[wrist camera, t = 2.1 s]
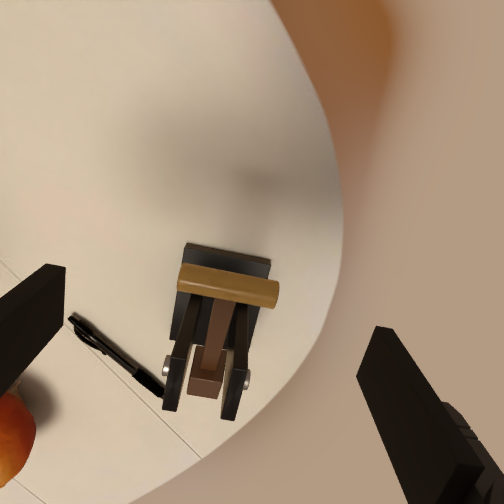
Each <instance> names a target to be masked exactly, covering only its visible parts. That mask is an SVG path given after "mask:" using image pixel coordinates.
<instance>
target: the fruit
mask: <svg viewBox="0 0 504 504" xmlns="http://www.w3.org/2000/svg"><path fill="white" fill-rule="evenodd" d="M20 383H21V382H20V380H19V381H18V382H17V383H16V384H15V386H14V387H13V388H12V389H10V390H7V391H6V392H5V393H4V395H3V396H2V397H1V398H0V488H2V487H4V486H5V484H6V483H7V482H8V481H10V480H11V479H12V478H13V477H15V476H16V475H17V474H18V473H19V472H20V471H21V469H22V468H23V467H24V465H25V463H26V461H27V459H28V457H29V455H30V452H31V449H32V447H33V443H34V440H35V435H36V425H35V422H34V417H33V415H32V414H31V413H30V412H29V410H28V409H27V408H26V406H25V404H24V402H23V400H22V399H21V397H20V395H19V393H18V390H17V388H18V386H19V384H20Z"/></svg>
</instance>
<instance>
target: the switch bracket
mask: <svg viewBox="0 0 504 504" xmlns="http://www.w3.org/2000/svg"><path fill="white" fill-rule="evenodd" d="M183 263H188V264H194V265H199V266H204V267H209V268H214V269H219V270H224V271H229V272H234V273H239V274H244V275H249V276H254V277H259V278H264V279H268V275H269V271H270V267H271V262H270V260H267V259H262V258H257V257H252V256H247V255H242V254H237V253H232V252H228V251H223V250H218V249H213V248H208V247H203V246H198V245H193V244H188V243H186V245H185V247H184V253H183V259H182V264H183ZM214 299H215V298H213V297H208V296H203V295H198V294H192V293H187V292H182V291H178V290H177V295H176V301H175V307H174V313H173V319H172V325H171V331H170V338H169V339H170V340H175V341H176V342H175V345H174V348H173V351H172V354H171V355H166V358H165V361H164V365H163V370H162V376H167V381H166V387H165V393H164V399H163V405H162V410H167V411H173V412H176V411H177V407H178V403H179V399H180V395H181V391H182V387H183V383H184V379H185V375H186V370H187V366H188V362H189V358H190V354H191V350H192V346H193V344H197V345H202V346H205V341H206V336H207V332H208V327H209V322H210V318H211V313H212V308H213V304H214ZM259 309H260V306H255V305H250V304H244V303H239V302H236V304H235V307H234V311H233V314H232V318H231V321H230V325H229V328H228V332H227V335H226V338H225V342H224V345H223V349H225V350H227V356H226V364H225V375H224V386H223V396H222V407H221V417H220V418H221V419H223V420H229V421H234V420H235V417H236V414H237V410H238V406H239V402H240V398H241V395H242V391H243V390H247V389H248V386H249V382H250V369H248V352H249V348H250V344H251V340H252V336H253V332H254V329H255V325H256V321H257V317H258V313H259Z"/></svg>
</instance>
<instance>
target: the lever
mask: <svg viewBox="0 0 504 504" xmlns="http://www.w3.org/2000/svg"><path fill="white" fill-rule="evenodd" d="M177 290H178V291H182V292H187V293H192V294H198V295H203V296H208V297H213V298H215V299H214V304H213V308H212V313H211V318H210V322H209V327H208V332H207V336H206V341H205V346H199V345H197V346H196V349H195V354H194V358H193V363H192V367H191V372H190V377H189V382H188V388H187V394H188V395H194V396H200V397H206V398H212V399H217V398H218V395H219V392H220V389H221V386H222V383H223V377H224V370H225V363H226V356H227V351H226V350H222V349H223V345H224V342H225V338H226V335H227V332H228V328H229V325H230V321H231V318H232V314H233V311H234V307H235V304H236V302H239V303H244V304H250V305H255V306H260V307H265V308H271V309H273V308H274V307H275V306H276V303H277V300H278V295H279V282H278V281H274V280H269V279H264V278H259V277H254V276H249V275H244V274H239V273H234V272H229V271H224V270H219V269H214V268H209V267H204V266H199V265H194V264H188V263H183V264H182V265H181V268H180V272H179V276H178V281H177Z"/></svg>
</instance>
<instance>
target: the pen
mask: <svg viewBox="0 0 504 504" xmlns="http://www.w3.org/2000/svg"><path fill="white" fill-rule="evenodd" d="M68 320H69V321H70V322H71V323H72V324H73V325H74V332H75V334H76V335H77V337H78V338H79V339H80V340H81V341H83V342H84V343H86V344H87V345H89V346H91V347H92V348H94V349H97V350H99V351H101V352H102V354H103V355H108V356H109V357H111V358H112V359H113V360H114V361H116V362H117V363H118V364H119V365H120V366H122V367H123V368H124V369H125V370H127V371H128V372H129V373H130V374H131V375H132V377H134V378H135V379H136V380H137V381H138V382H139V383H140V384H142V385H143V386H144V387H146V388H147V389H148V390H149V391H151V392H152V393H153V394H154V395H156V396H157V397H160V398H161V399H164V393H165V389H164V388H163V387H162V386H160V385H159V384H158V383H157V382H156V381H155V380H154V379H152V378H151V377H150V376H149V375H148V374H147V373H145V372H144V371H143V370H141V369H140V368H138V367H136V366H135V365H134V364H133V363H132V362H130V361H129V360H128V359H127V358H126V357H124V356H123V355H122V354H121V353H120V352H118V351H117V350H116V349H115V348H114V347H112V346H111V345H110V344H109V343H108V342H106V341H105V340H104V339H103V338H102V337H100V336H99V335H98V334H97V333H96V332H94V331H93V330H92V329H91V328H90V327H89V326H88V325H87V324H85V323H84V322H83V321H81V320H78V319H76V318H75V317H74V316H70V317H69V318H68ZM85 337H86V338H88V339H89V340H90V341H89V340H88V339H86V338H85Z"/></svg>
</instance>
